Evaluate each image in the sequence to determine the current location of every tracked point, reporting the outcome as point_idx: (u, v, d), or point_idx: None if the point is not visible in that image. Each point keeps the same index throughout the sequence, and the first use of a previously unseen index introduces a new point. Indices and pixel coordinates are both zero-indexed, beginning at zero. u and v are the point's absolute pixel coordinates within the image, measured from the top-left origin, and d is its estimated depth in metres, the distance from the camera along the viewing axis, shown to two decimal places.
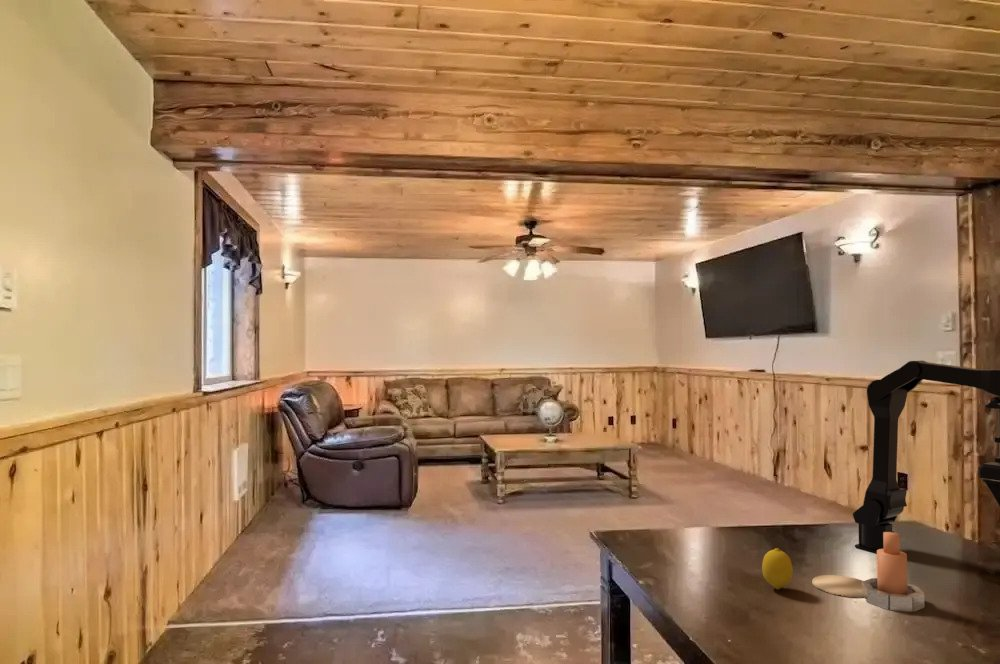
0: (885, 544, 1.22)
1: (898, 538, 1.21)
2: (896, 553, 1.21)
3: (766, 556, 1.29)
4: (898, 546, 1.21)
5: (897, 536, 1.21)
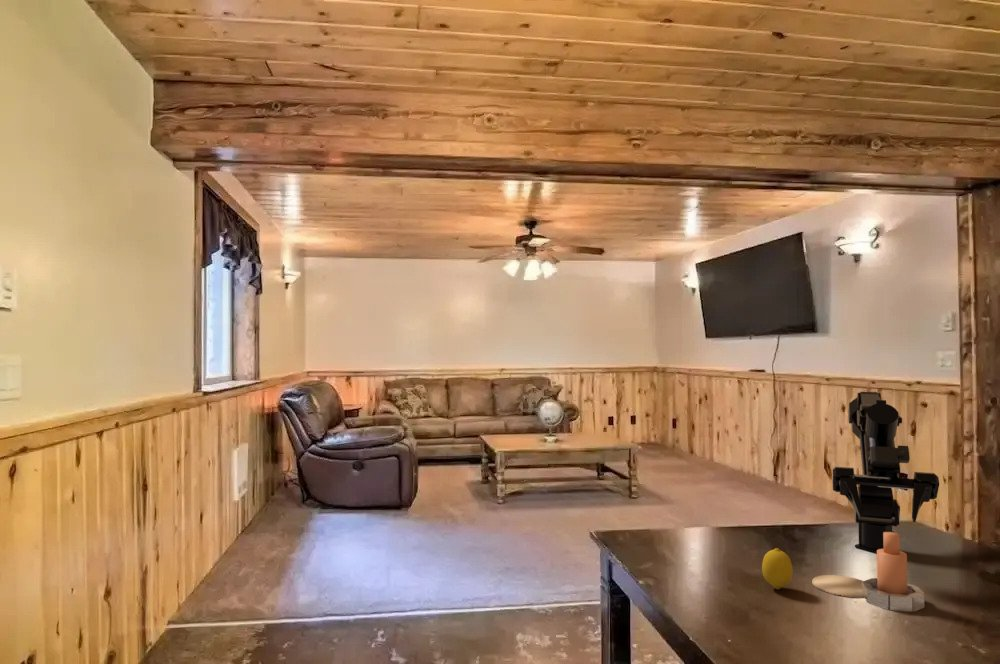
0: (885, 544, 1.22)
1: (898, 538, 1.21)
2: (896, 553, 1.21)
3: (766, 556, 1.29)
4: (898, 546, 1.21)
5: (897, 536, 1.21)
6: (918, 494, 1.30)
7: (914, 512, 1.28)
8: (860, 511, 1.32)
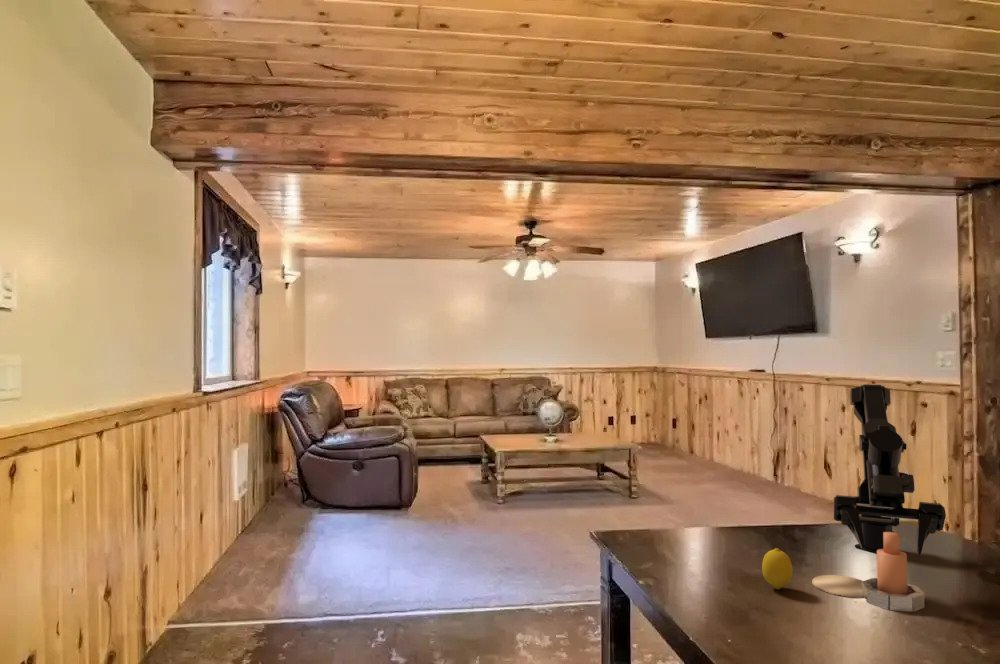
0: (885, 544, 1.22)
1: (898, 538, 1.21)
2: (896, 553, 1.21)
3: (766, 556, 1.29)
4: (898, 546, 1.21)
5: (897, 536, 1.21)
6: (923, 526, 1.24)
7: (920, 545, 1.22)
8: (862, 543, 1.26)
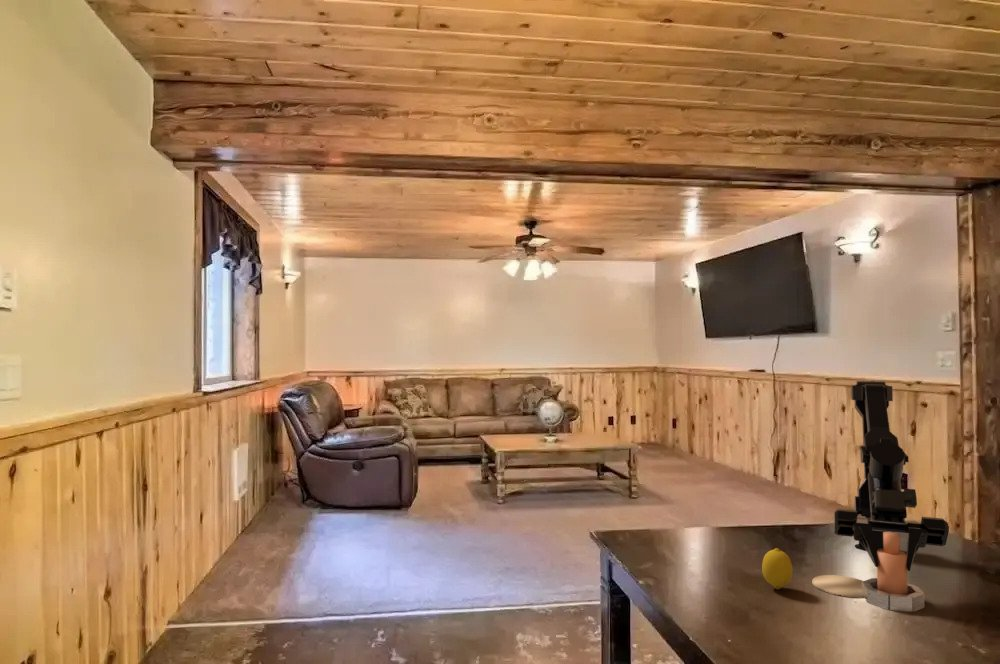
0: (885, 544, 1.22)
1: (898, 538, 1.21)
2: (896, 553, 1.21)
3: (766, 556, 1.29)
4: (898, 546, 1.21)
5: (897, 536, 1.21)
6: (913, 540, 1.22)
7: (909, 560, 1.20)
8: (876, 560, 1.22)
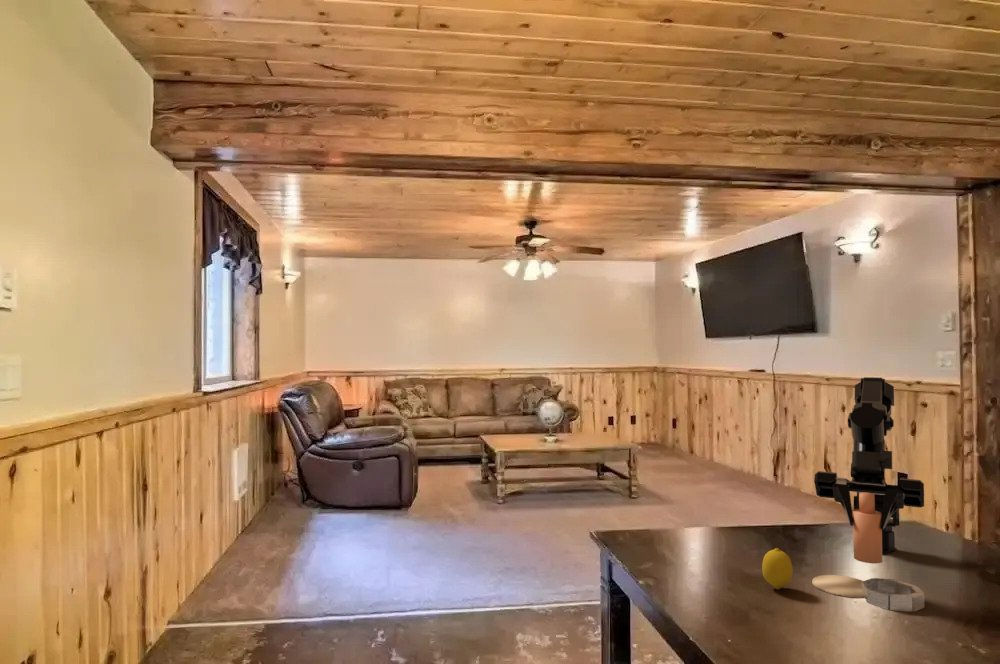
0: (860, 504, 1.26)
1: (873, 498, 1.25)
2: (870, 512, 1.24)
3: (766, 556, 1.29)
4: (872, 505, 1.25)
5: (871, 496, 1.25)
6: (888, 500, 1.25)
7: (883, 519, 1.24)
8: (851, 519, 1.26)
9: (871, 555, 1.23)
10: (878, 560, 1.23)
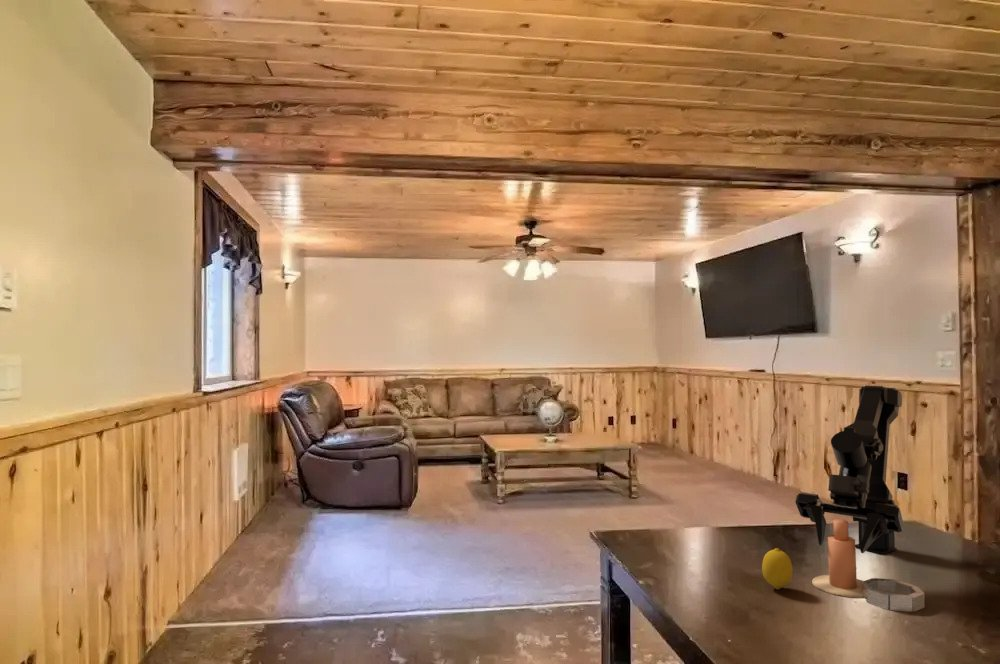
0: (834, 531, 1.30)
1: (846, 525, 1.28)
2: (843, 539, 1.28)
3: (766, 556, 1.29)
4: (845, 533, 1.28)
5: (844, 523, 1.28)
6: (870, 525, 1.28)
7: (863, 543, 1.26)
8: (820, 539, 1.31)
9: (844, 581, 1.27)
10: (851, 586, 1.27)
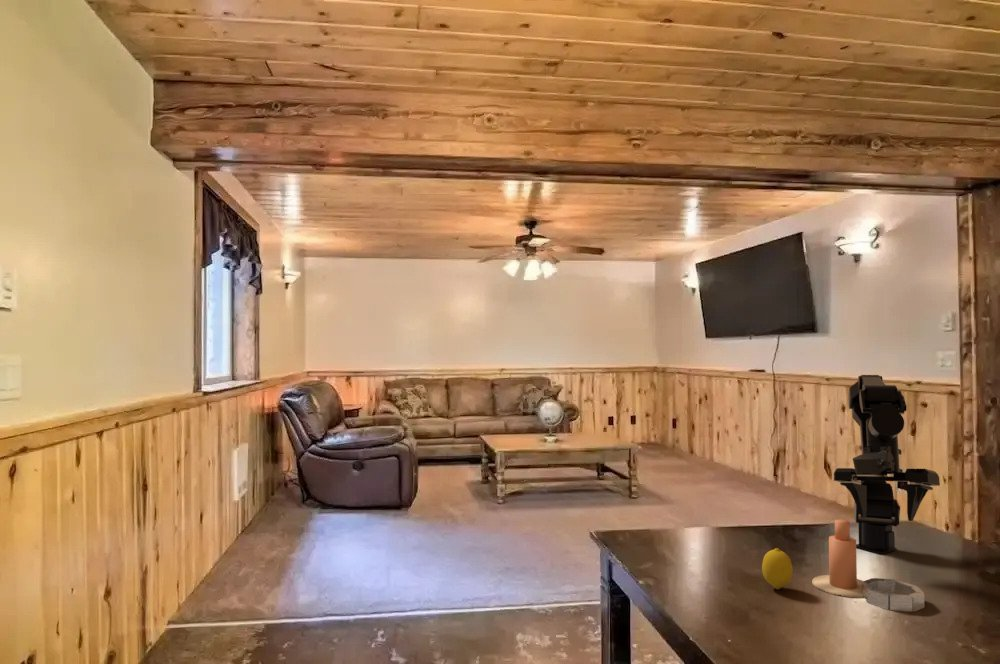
0: (835, 531, 1.30)
1: (847, 525, 1.29)
2: (844, 539, 1.28)
3: (766, 556, 1.29)
4: (847, 533, 1.29)
5: (846, 523, 1.29)
6: (911, 493, 1.31)
7: (909, 513, 1.31)
8: (861, 514, 1.38)
9: (844, 581, 1.27)
10: (851, 586, 1.27)
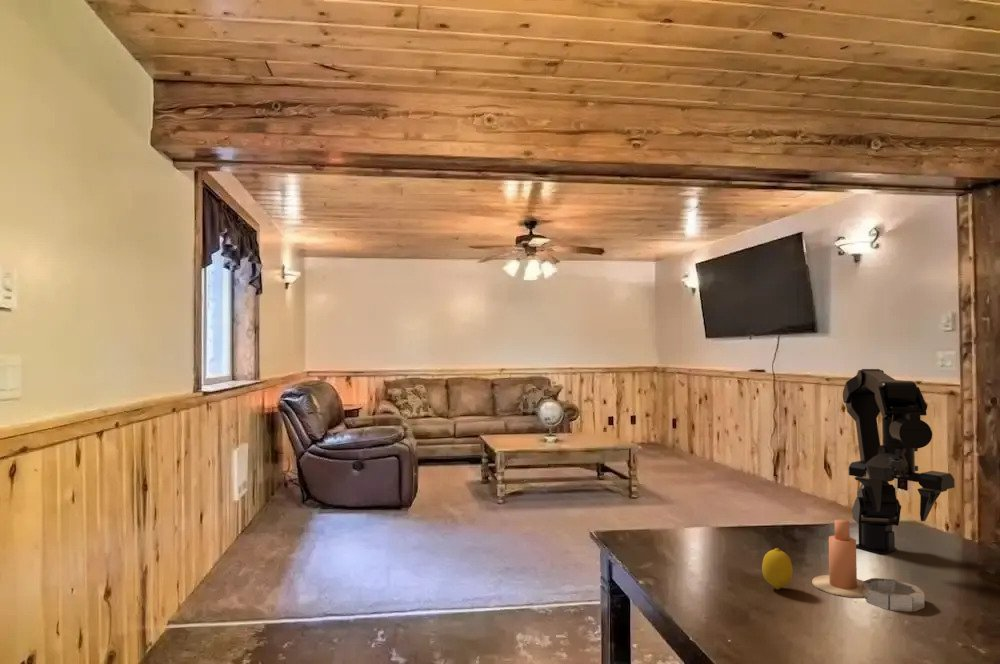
0: (835, 531, 1.30)
1: (847, 525, 1.29)
2: (844, 539, 1.28)
3: (766, 556, 1.29)
4: (847, 533, 1.29)
5: (845, 523, 1.29)
6: (924, 497, 1.31)
7: (921, 514, 1.32)
8: (875, 508, 1.40)
9: (844, 581, 1.27)
10: (851, 586, 1.27)
